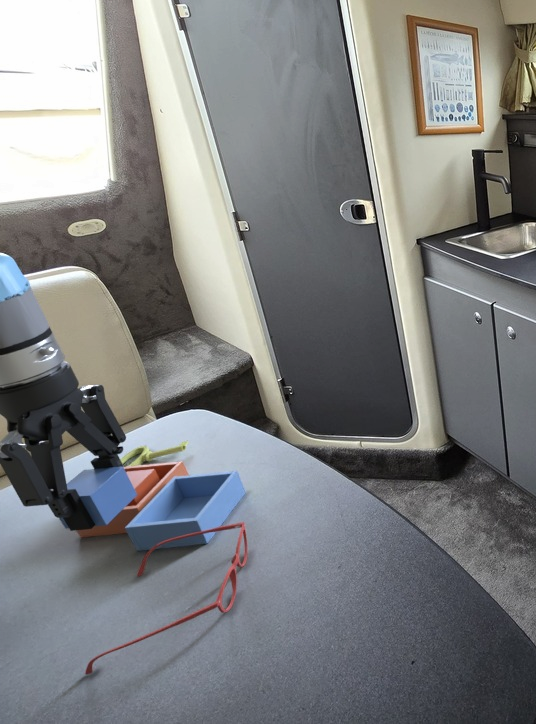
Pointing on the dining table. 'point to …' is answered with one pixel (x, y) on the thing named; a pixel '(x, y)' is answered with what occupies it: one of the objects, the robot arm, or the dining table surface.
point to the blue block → (103, 493)
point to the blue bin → (186, 510)
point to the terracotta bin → (130, 512)
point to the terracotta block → (142, 483)
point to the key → (151, 453)
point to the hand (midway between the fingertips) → (102, 509)
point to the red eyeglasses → (218, 603)
